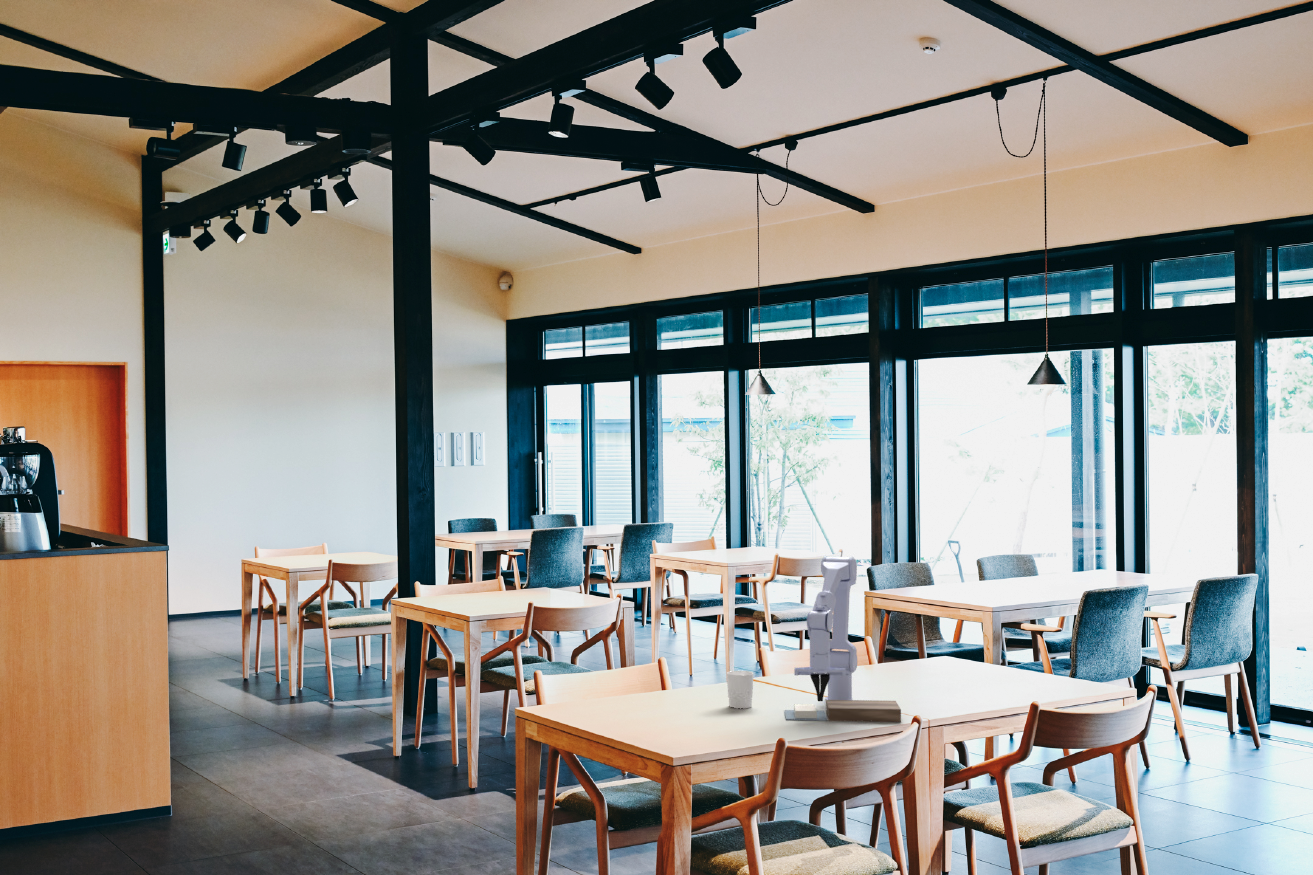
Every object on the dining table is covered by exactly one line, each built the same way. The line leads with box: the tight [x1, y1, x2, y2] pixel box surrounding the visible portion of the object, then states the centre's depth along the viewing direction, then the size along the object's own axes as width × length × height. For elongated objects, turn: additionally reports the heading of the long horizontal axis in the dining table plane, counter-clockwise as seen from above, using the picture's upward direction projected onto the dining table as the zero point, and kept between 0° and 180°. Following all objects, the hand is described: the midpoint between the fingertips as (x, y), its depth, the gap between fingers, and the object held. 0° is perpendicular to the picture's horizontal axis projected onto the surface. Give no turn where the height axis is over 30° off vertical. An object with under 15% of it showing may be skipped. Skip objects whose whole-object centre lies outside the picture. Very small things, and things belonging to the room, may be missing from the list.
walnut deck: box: [825, 699, 902, 723], centre depth 332 cm, size 12×20×4 cm, turn 85°
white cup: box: [726, 670, 754, 710], centre depth 347 cm, size 8×8×10 cm
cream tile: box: [793, 703, 817, 718], centre depth 333 cm, size 9×6×2 cm, turn 175°
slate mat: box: [784, 709, 828, 722], centre depth 333 cm, size 12×12×1 cm
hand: (820, 700), depth 333 cm, fingers closed
